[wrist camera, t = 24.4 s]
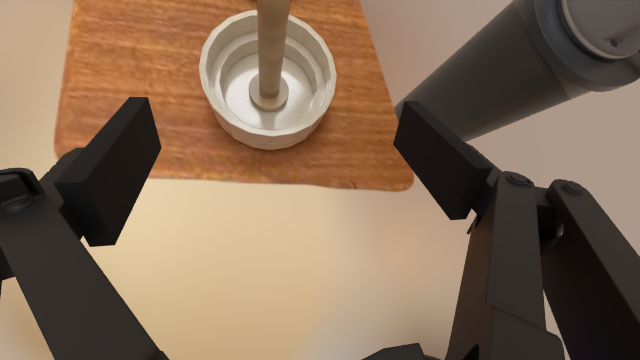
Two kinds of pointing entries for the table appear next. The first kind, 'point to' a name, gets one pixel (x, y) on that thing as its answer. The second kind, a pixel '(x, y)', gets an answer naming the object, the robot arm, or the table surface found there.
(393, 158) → the table surface
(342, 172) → the table surface
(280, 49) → the pestle
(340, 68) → the table surface
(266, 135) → the bowl
